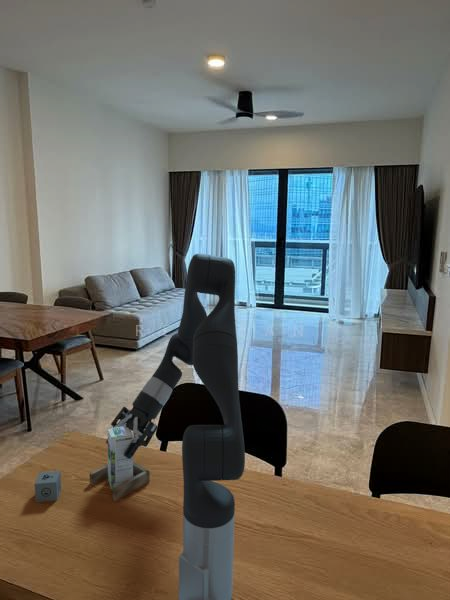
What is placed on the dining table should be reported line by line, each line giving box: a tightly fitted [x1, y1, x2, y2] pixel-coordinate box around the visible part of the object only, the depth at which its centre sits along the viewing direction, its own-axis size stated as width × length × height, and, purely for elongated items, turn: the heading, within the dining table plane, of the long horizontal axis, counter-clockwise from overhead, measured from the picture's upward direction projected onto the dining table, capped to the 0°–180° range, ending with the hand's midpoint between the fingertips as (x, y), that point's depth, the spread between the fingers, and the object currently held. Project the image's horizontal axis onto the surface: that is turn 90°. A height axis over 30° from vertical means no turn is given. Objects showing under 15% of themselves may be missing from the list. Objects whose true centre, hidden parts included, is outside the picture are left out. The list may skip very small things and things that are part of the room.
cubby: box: [89, 461, 151, 502], centre depth 114 cm, size 11×11×3 cm
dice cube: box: [34, 470, 62, 503], centre depth 108 cm, size 5×5×5 cm
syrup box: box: [107, 426, 134, 491], centre depth 113 cm, size 6×6×14 cm
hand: (117, 450), depth 112 cm, fingers open, 8 cm apart
